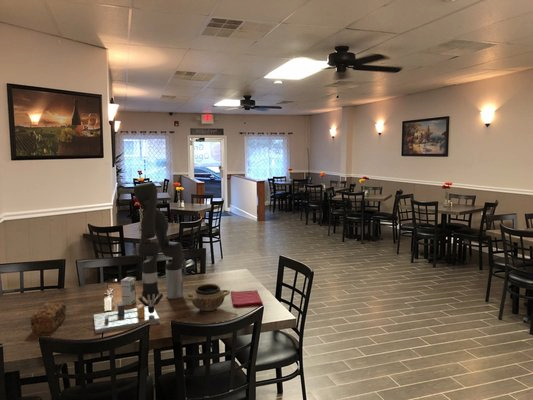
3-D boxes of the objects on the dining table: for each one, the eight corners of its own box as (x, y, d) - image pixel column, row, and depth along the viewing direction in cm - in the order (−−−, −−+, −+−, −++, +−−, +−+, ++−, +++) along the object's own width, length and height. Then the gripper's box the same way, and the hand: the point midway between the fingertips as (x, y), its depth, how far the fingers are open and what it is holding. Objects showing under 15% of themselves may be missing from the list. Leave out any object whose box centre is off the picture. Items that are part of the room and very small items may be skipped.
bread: (46, 318, 213) (45, 299, 212) (67, 317, 214) (66, 299, 213) (30, 333, 194) (28, 313, 193) (53, 332, 196) (52, 312, 195)
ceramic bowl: (186, 322, 213) (186, 298, 208) (183, 302, 229) (183, 279, 224) (232, 317, 220) (233, 293, 214) (226, 298, 235) (227, 276, 230)
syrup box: (131, 305, 230) (130, 280, 229) (121, 304, 231) (120, 279, 230) (136, 301, 236) (135, 277, 234) (127, 301, 237) (125, 276, 235)
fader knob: (143, 313, 212) (142, 303, 212) (144, 316, 208) (144, 307, 207) (137, 314, 211) (136, 304, 210) (138, 317, 206) (138, 308, 206)
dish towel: (232, 308, 226) (232, 304, 226) (230, 294, 249) (229, 290, 249) (263, 307, 229) (263, 302, 228) (257, 292, 252) (257, 288, 251)
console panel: (152, 309, 225) (152, 296, 224) (159, 322, 206) (158, 308, 206) (94, 318, 212) (93, 304, 211) (95, 333, 194) (94, 318, 193)
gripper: (161, 276, 215) (162, 308, 217) (135, 280, 210) (137, 312, 212) (164, 280, 209) (165, 313, 211) (137, 284, 203) (139, 317, 205)
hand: (151, 312), depth 211 cm, fingers closed
